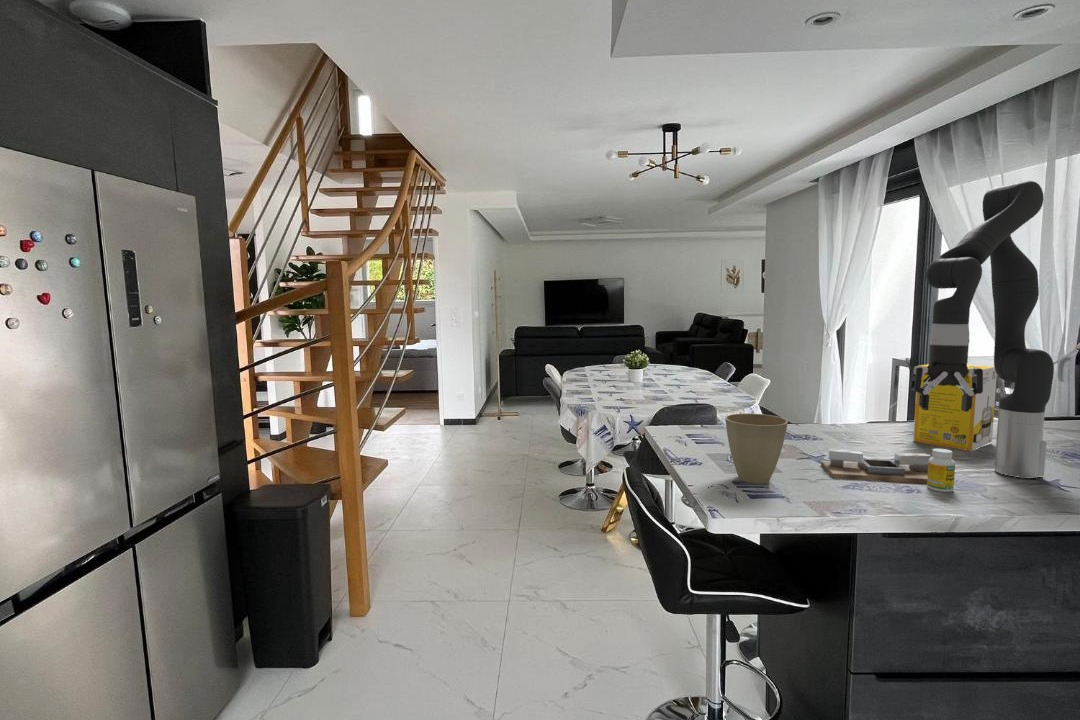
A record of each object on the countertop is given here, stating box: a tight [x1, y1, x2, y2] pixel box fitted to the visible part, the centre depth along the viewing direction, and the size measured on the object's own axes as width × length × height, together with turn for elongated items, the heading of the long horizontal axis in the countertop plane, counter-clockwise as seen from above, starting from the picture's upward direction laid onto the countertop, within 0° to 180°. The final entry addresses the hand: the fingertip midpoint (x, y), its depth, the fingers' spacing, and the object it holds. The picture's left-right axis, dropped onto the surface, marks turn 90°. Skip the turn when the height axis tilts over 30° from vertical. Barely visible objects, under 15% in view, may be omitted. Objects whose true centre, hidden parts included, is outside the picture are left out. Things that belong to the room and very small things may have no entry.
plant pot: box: [724, 412, 789, 485], centre depth 146 cm, size 15×15×16 cm
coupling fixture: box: [828, 448, 932, 476], centre depth 151 cm, size 24×9×4 cm, turn 77°
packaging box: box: [912, 363, 998, 451], centre depth 184 cm, size 16×16×25 cm
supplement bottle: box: [926, 448, 956, 493], centre depth 138 cm, size 5×5×10 cm
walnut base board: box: [820, 461, 928, 485], centre depth 151 cm, size 26×12×1 cm, turn 77°
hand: (944, 410), depth 137 cm, fingers open, 8 cm apart
